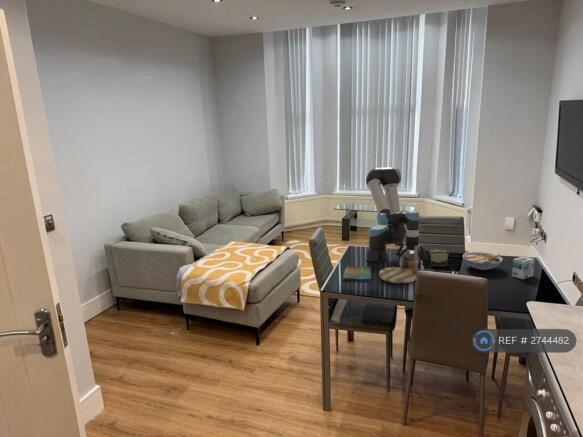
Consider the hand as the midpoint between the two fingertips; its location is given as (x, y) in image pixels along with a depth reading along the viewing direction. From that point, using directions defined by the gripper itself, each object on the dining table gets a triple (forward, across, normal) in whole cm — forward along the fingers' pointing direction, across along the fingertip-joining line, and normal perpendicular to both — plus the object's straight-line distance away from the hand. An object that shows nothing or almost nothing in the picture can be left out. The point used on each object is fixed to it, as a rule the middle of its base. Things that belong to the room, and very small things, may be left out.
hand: (411, 268), depth 252 cm
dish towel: (+2, -24, -26) cm, 35 cm away
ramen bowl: (+2, +34, +27) cm, 43 cm away
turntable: (-1, 0, -19) cm, 19 cm away
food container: (+2, +9, +20) cm, 22 cm away
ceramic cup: (+1, 0, 0) cm, 1 cm away
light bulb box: (+2, +57, +26) cm, 63 cm away
